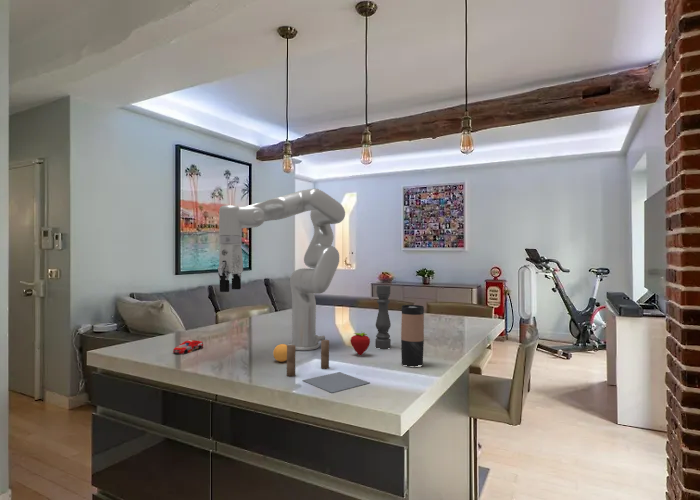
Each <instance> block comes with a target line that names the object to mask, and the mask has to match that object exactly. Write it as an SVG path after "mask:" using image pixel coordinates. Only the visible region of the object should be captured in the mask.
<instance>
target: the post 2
mask: <svg viewBox="0 0 700 500" xmlns="http://www.w3.org/2000/svg"><path fill="white" fill-rule="evenodd" d="M320 345H321V346H320V369H322V370H328V369H330V340H328V339H325V340H321V341H320Z"/></svg>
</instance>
